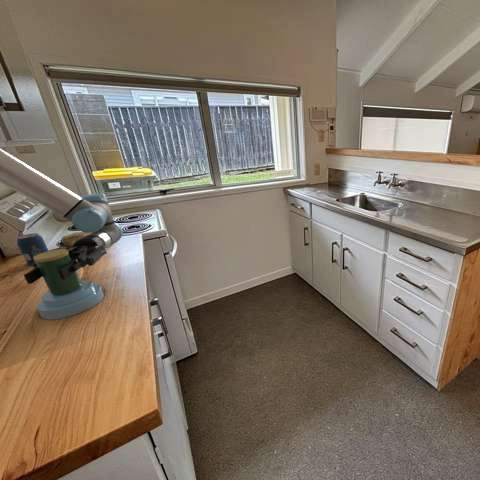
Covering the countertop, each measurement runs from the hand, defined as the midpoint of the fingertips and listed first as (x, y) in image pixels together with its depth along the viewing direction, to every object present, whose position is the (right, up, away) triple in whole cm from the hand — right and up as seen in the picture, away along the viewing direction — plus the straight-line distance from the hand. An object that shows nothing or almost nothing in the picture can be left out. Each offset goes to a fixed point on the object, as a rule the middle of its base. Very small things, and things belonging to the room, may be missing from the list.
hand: (44, 277), depth 67 cm
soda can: (-41, 0, +37) cm, 55 cm away
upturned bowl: (-1, -9, +9) cm, 13 cm away
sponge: (-38, +6, +52) cm, 65 cm away
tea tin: (-1, -4, +7) cm, 8 cm away
